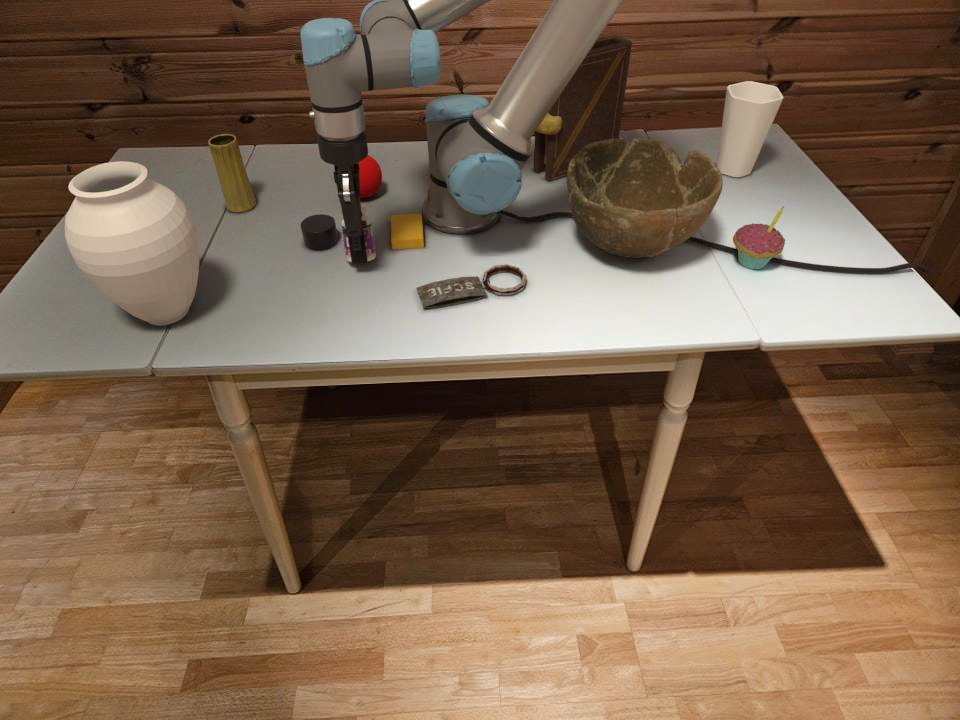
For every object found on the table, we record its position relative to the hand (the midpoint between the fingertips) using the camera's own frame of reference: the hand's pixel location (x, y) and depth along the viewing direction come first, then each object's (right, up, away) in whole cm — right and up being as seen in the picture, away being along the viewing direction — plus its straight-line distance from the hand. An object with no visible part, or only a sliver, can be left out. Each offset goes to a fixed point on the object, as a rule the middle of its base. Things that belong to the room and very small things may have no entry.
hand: (359, 261), depth 116 cm
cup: (+77, +24, +28) cm, 86 cm away
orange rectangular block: (+7, +7, +10) cm, 14 cm away
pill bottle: (0, +1, +3) cm, 3 cm away
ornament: (-3, +17, +22) cm, 28 cm away
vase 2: (-28, +14, +19) cm, 37 cm away
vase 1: (-31, -10, -5) cm, 33 cm away
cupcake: (+71, 0, +3) cm, 71 cm away
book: (+42, +26, +30) cm, 57 cm away
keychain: (+20, -5, -2) cm, 21 cm away
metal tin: (-9, +5, +9) cm, 14 cm away
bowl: (+50, +5, +8) cm, 51 cm away
